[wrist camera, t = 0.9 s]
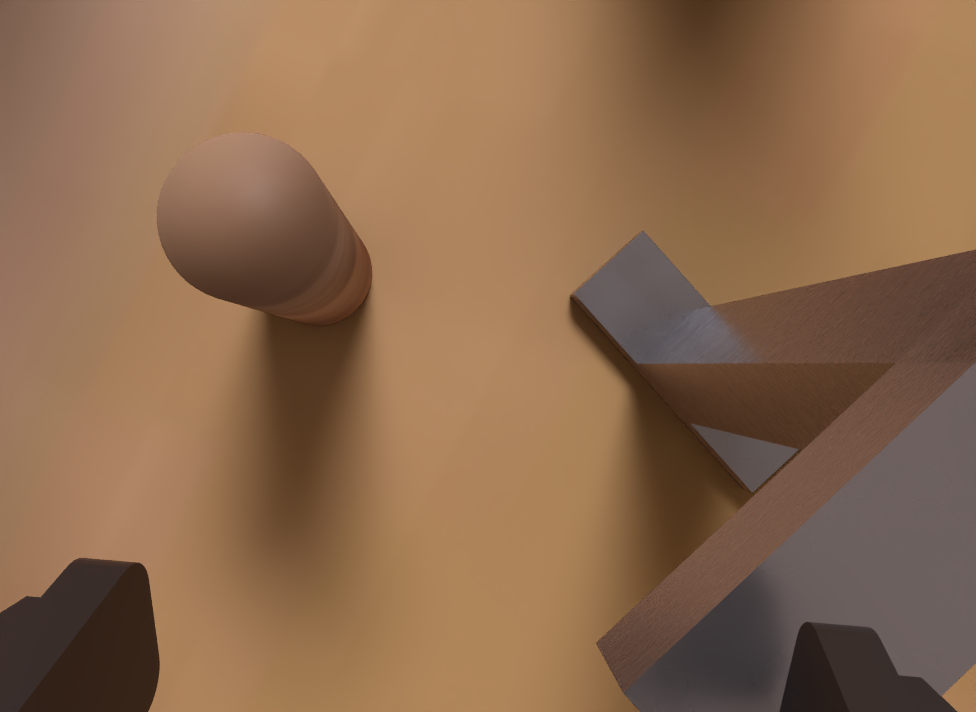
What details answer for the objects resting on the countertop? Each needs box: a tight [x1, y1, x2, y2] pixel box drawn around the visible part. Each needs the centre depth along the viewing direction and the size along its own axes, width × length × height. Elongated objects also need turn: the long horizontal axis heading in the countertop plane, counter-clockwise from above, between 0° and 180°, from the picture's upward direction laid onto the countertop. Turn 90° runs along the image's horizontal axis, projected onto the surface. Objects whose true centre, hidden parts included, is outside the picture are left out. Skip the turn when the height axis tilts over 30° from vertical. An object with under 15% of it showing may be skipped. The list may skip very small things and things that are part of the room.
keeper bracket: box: [570, 231, 976, 712], centre depth 22 cm, size 10×10×21 cm
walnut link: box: [157, 132, 372, 325], centre depth 26 cm, size 4×4×12 cm
